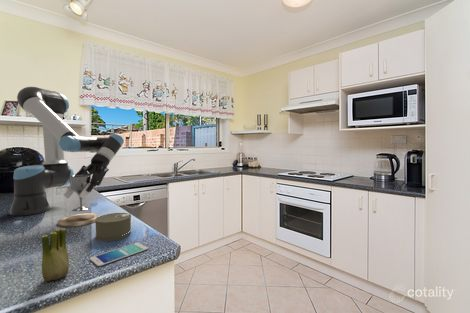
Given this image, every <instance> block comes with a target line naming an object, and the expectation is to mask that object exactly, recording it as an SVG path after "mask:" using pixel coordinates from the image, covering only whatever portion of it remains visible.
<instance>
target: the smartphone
mask: <svg viewBox="0 0 470 313" xmlns="http://www.w3.org/2000/svg"><path fill="white" fill-rule="evenodd" d="M148 250H149V247H147V246H146V245H144V244H141V243H140V242H135V243H131V244H129V245H126V246H121V247H119V248H116V249H113V250H110V251H107V252H103V253H100V254H97V255H94V256H91V257H90V258H89V262H91V263H92V264H94V265H95V266H96V267H97V268H101V267H104V266H108V265H110V264H113V263H116V262H118V261H121V260H123V259H127V258H129V257H131V256H135V255H138V254H141V253H143V252H146V251H148Z"/></svg>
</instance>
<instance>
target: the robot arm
mask: <svg viewBox="0 0 470 313" xmlns="http://www.w3.org/2000/svg"><path fill="white" fill-rule="evenodd" d="M16 99H17V103H18V105H19V106H20V107H21V108H22V110H24V112H26V113H28V114H31V115H32V116H33V117H34V118H36V119H37V121H39V123H40V124H41V125H42V135H43V148H44V150H43V151H44V161H43V162H42V163H41V164H33V165H26V166H21V167H20V166H19V167H17V168H16V169H14V171H13V177H12V178H13V195H14V198H13V201H12V203H11V207H10V208H9V215H10V216H12V217H13V216H16V217H17V216H20V217H21V216H30V215H37V214H42V213H44V212H47V211H49V210H50V204H49V202H48V199H47V196H46V195H45V194H46V193H45V192H46V191H45V190H47V189H53V188H60V187H64V186H67V185H69V186H68V187H67V189H66V190H65V192H64V193H63V196H64V197H65V198H67V199H70V198H71V196H73V194H74V193H75V192H74V191H73V190H72V188H71V186H70V180H69V176H74V175H91V182H89V183H90V184H87V185H86V187H85V188H84V190H83V191H82V192H81V194H80V195H79V196H80V197H81V198H82V200H85V199H86V197H87V196H88V195H89V194H90V193H91V192H92V190H93V188H95V187H96V186H97V187H98V186H100V185H101V183H102V182H103V180H104V178H105V175H106V174H107V173H108V171H109V168H108V166H109V164H110V163H111V162H112V160H113V158H114V157H115V156H116V154H117V153H118V152H119V150H120V149H121V148H122V146H123V144H124V141H125V140H124V138H123V136H122V135H120V134H119V133H116V132H115V133H111V134H110V135H109V136H108V137H96V136H95V137H93V136H80V135H79V134H78V133H76V131H74V130H73V129H72V128H71V127H70V126H69V125H68V124H67V123H66V122H65V121H64V120H63V119H62V118H64V117H65V114H66V113H67V112H68V109H69V107H70V103H69V100H68V98H67V97H66V96H65V95H64V94H63V93H60V92H57V91H54V90H50V89H44V88H39V87H36V86H26V87H23V88H22V89H20V90H19V91H18V93H17V96H16ZM65 152H66V153H67V152H68V153H79V152H80V153H84V152H85V153H86V152H87V153H91V152H92V153H94V152H95V154H94V156H92V158H91V159H90V163H89V164H88V165H87V166H86V165H82V166H81V168H80V169H79V170H78V171H77V172H76V173H75V174H74V169H73V168H72V167H71V166H69V164H68V162H67V160H65ZM79 196H78V197H79Z"/></svg>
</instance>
